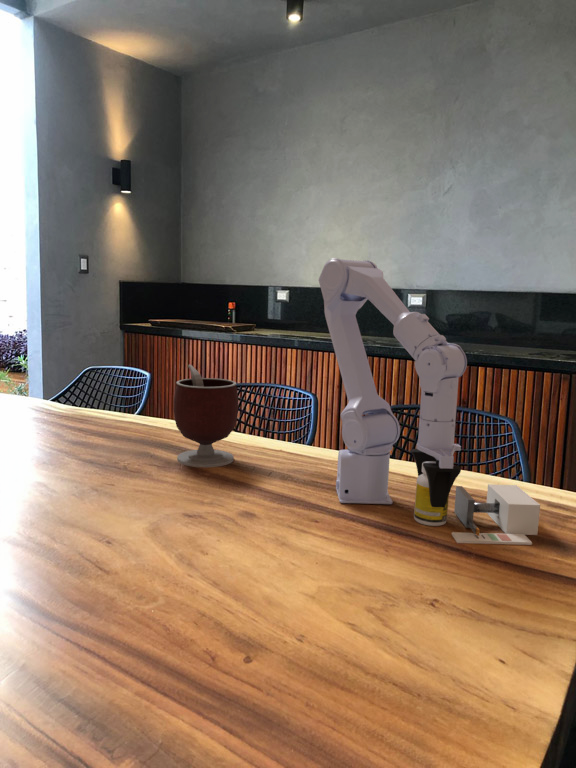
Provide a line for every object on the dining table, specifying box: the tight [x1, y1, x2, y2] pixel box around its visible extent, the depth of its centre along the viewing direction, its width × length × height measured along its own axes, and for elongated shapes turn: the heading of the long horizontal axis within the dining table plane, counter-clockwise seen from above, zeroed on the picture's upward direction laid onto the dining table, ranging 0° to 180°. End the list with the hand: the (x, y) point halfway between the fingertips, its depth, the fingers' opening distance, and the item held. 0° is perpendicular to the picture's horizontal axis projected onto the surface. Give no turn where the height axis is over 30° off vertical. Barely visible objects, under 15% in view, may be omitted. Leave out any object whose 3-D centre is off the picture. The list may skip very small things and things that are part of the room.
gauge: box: [451, 484, 541, 546], centre depth 101 cm, size 14×14×5 cm
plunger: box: [453, 485, 500, 536], centre depth 101 cm, size 8×11×5 cm
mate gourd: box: [173, 364, 239, 468], centre depth 135 cm, size 16×14×20 cm
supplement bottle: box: [413, 461, 450, 527], centre depth 103 cm, size 5×5×10 cm
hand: (432, 498), depth 103 cm, fingers open, 7 cm apart
